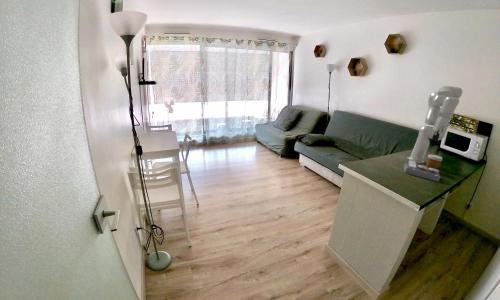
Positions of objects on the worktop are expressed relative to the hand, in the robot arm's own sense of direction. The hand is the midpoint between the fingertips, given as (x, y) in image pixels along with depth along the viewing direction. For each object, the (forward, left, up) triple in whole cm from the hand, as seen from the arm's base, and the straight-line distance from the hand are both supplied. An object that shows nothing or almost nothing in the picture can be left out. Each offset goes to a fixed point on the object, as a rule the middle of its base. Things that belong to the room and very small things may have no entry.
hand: (434, 140), depth 164 cm
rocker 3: (0, +7, -21) cm, 22 cm away
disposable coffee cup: (-18, +9, -27) cm, 34 cm away
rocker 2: (0, 0, -21) cm, 21 cm away
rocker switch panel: (-2, 0, -27) cm, 27 cm away
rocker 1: (0, -7, -21) cm, 22 cm away
